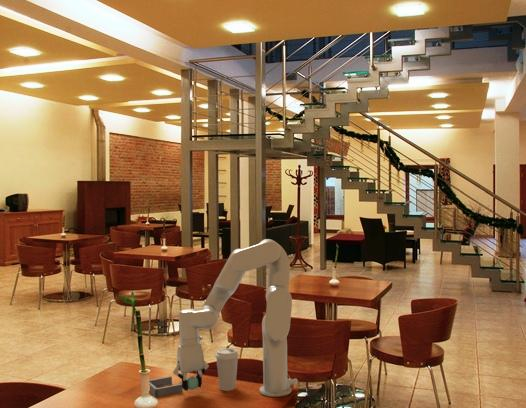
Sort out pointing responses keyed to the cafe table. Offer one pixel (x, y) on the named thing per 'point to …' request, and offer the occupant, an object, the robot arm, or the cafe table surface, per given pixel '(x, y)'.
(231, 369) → the coffee cup
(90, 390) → the cafe table surface
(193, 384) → the ball
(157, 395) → the tray
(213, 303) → the robot arm
